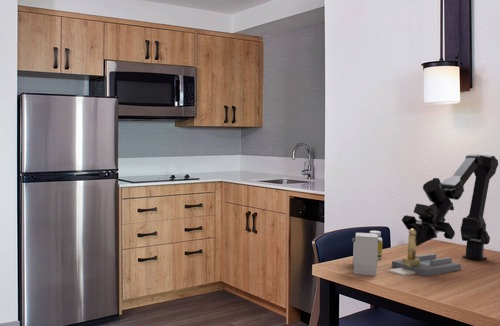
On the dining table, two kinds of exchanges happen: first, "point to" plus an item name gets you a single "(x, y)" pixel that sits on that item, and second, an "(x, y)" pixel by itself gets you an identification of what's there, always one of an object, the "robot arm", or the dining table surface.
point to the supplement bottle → (379, 243)
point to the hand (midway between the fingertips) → (415, 245)
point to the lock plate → (430, 265)
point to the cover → (401, 271)
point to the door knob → (411, 250)
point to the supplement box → (365, 254)
